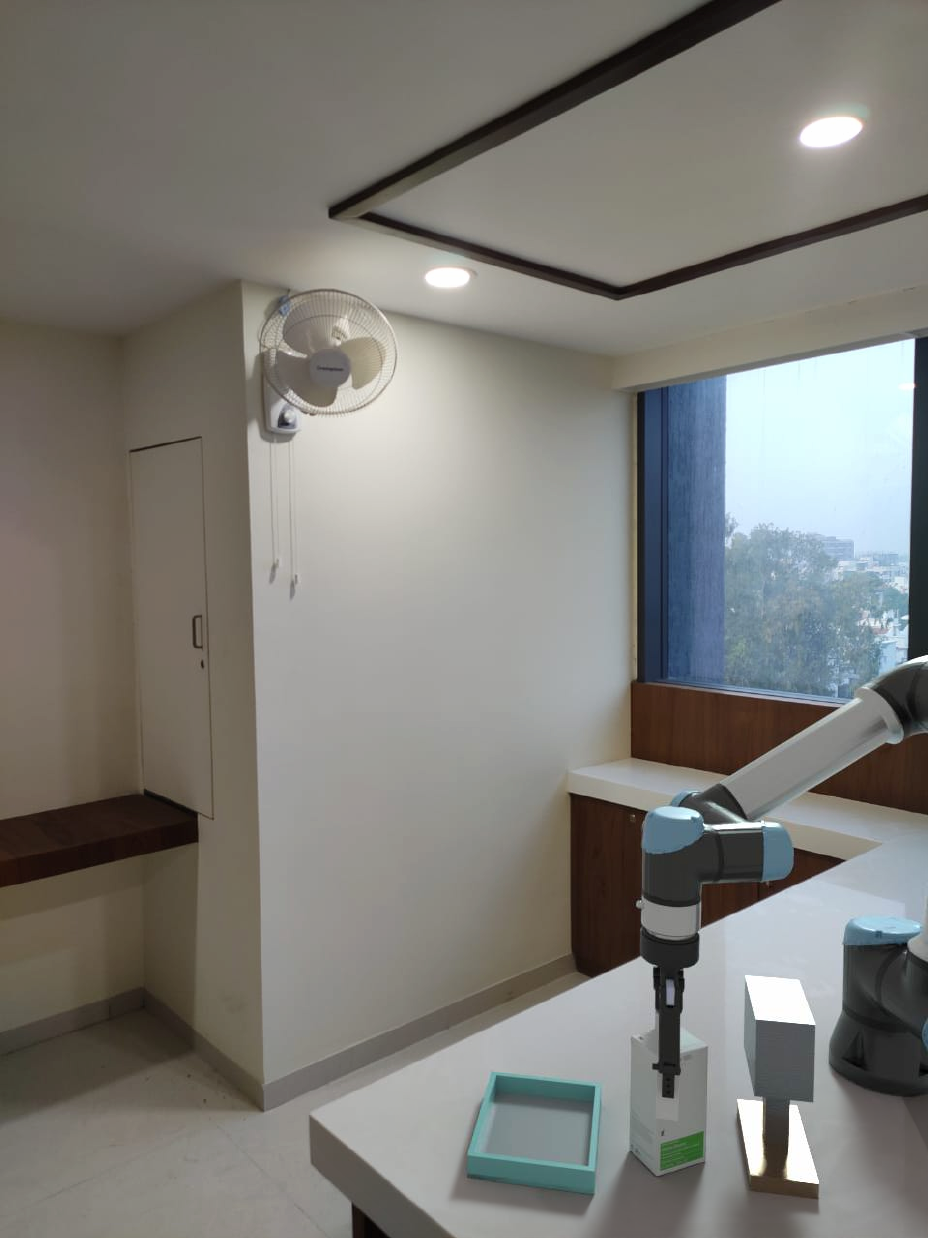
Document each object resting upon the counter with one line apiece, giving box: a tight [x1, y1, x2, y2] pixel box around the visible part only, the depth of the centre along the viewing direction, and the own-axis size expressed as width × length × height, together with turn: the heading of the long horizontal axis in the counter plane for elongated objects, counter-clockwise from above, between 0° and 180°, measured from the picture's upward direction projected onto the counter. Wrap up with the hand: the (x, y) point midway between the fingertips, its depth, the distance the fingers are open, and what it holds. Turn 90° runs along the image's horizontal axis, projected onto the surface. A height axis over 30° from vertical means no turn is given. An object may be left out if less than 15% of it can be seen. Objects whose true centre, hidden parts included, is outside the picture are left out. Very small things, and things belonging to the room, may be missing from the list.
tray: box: [466, 1071, 602, 1195], centre depth 122 cm, size 16×19×3 cm
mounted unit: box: [736, 975, 820, 1200], centre depth 118 cm, size 8×16×21 cm, turn 169°
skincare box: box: [628, 1025, 709, 1177], centre depth 118 cm, size 8×7×16 cm
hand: (665, 1087), depth 118 cm, fingers open, 13 cm apart
